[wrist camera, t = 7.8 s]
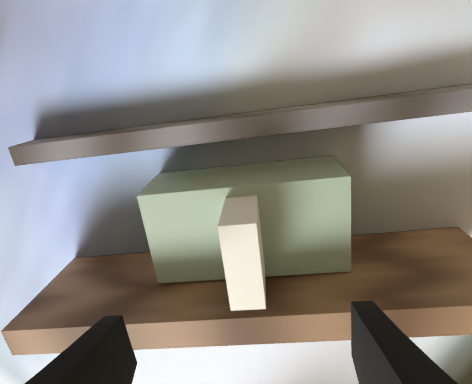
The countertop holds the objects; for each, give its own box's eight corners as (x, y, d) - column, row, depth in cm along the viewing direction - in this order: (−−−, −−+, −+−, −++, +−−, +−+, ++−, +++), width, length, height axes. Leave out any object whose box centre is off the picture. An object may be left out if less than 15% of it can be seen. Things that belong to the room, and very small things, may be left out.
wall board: (81, 277, 22) (12, 355, 16) (33, 139, 19) (-76, 172, 13) (455, 249, 19) (544, 331, 13) (473, 83, 16) (603, 90, 10)
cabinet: (176, 245, 21) (137, 324, 14) (160, 171, 19) (109, 223, 13) (334, 233, 20) (370, 313, 13) (332, 154, 18) (373, 201, 12)
